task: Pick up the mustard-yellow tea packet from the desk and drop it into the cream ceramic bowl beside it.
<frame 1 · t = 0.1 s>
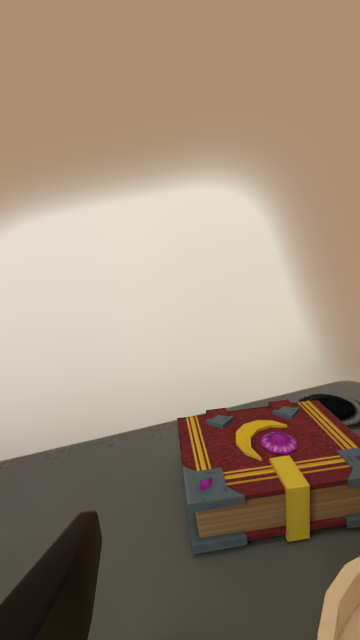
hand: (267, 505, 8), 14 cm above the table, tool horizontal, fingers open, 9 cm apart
decorative book: (275, 484, 27), on the table
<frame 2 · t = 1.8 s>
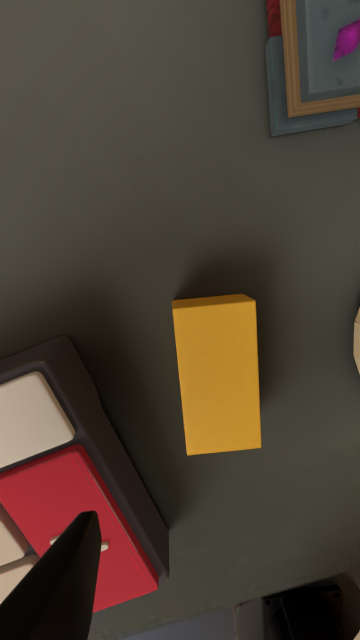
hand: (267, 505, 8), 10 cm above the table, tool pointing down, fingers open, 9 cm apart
calculator: (44, 471, 19), on the table
packet: (212, 364, 18), on the table
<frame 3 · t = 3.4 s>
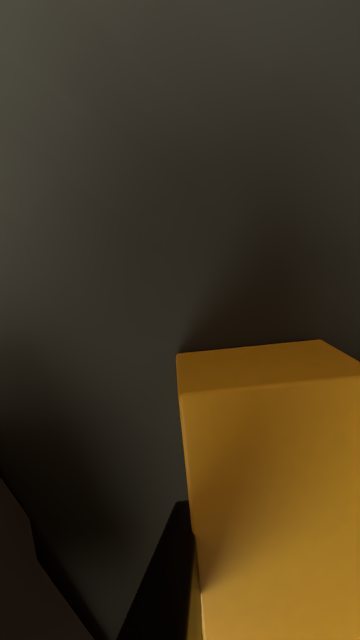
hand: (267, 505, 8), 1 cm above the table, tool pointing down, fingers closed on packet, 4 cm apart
packet: (254, 472, 9), on the table, touching gripper
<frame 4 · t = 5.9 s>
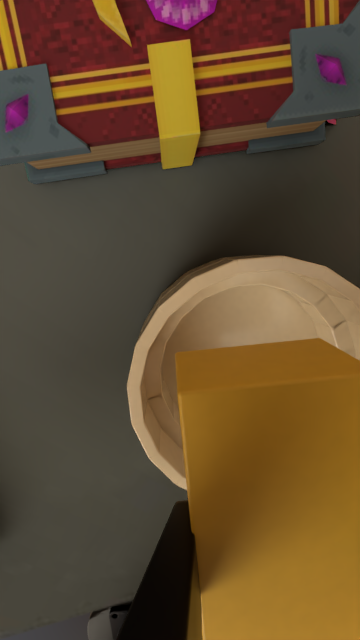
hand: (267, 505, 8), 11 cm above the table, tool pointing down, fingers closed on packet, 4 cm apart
decorative book: (172, 46, 15), on the table
bowl: (238, 357, 19), on the table
packet: (253, 471, 9), point 10 cm above the table, touching gripper
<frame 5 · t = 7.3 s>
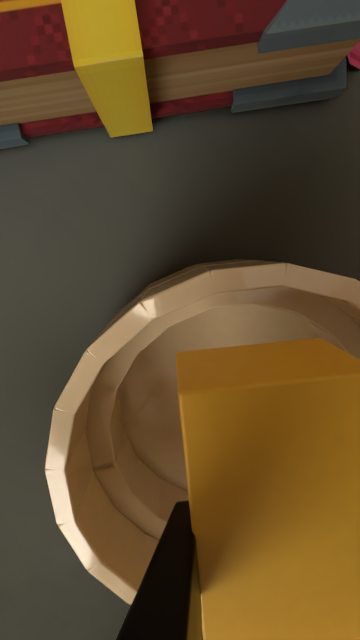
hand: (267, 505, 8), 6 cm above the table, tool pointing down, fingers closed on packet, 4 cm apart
bowl: (226, 397, 14), on the table
packet: (254, 470, 9), point 5 cm above the table, touching gripper
when the fingers open (3 cm above the table, at t = 8.5 s): packet drops 1 cm, resting on bowl.
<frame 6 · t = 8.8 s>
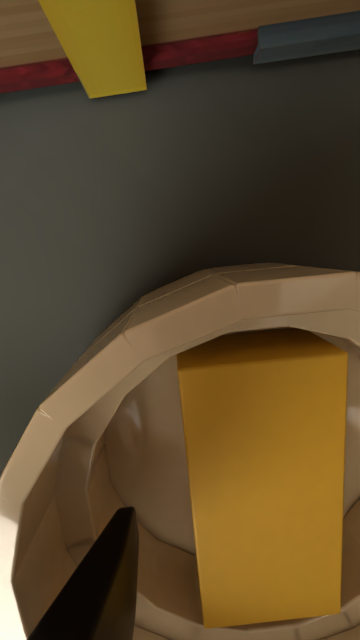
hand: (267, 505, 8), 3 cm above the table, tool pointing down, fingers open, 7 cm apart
bowl: (241, 436, 11), on the table
packet: (245, 446, 10), point 1 cm above the table, touching bowl
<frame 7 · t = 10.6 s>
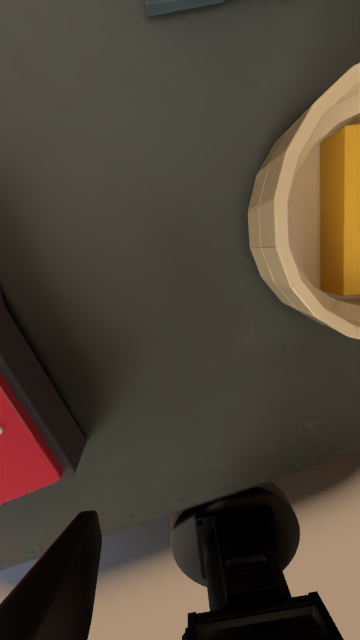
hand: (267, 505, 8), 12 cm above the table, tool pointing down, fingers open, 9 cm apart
bowl: (348, 218, 18), on the table
packet: (354, 216, 17), point 1 cm above the table, touching bowl
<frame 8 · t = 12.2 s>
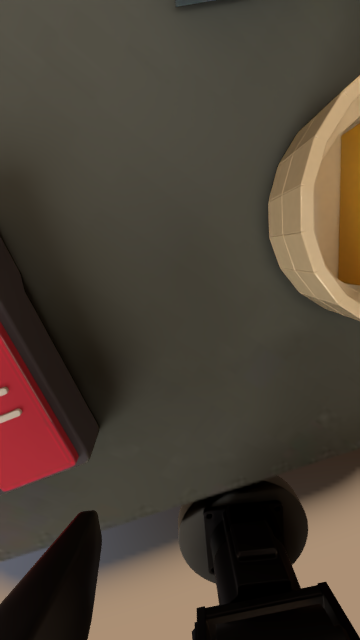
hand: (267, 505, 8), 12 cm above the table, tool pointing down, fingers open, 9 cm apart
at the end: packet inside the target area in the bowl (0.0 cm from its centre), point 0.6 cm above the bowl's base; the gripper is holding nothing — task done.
